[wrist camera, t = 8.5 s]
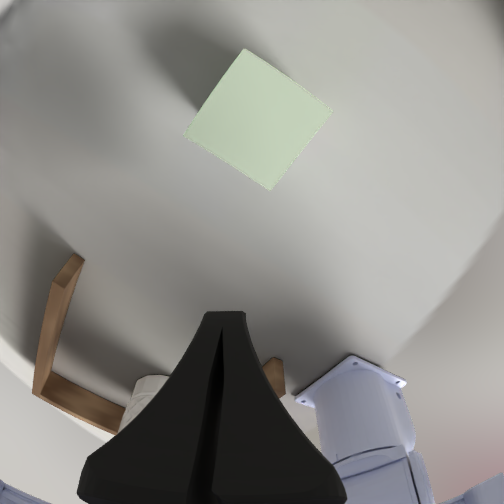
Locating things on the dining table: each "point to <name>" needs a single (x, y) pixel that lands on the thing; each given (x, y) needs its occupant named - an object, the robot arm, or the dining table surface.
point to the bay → (67, 392)
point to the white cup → (142, 396)
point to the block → (257, 120)
